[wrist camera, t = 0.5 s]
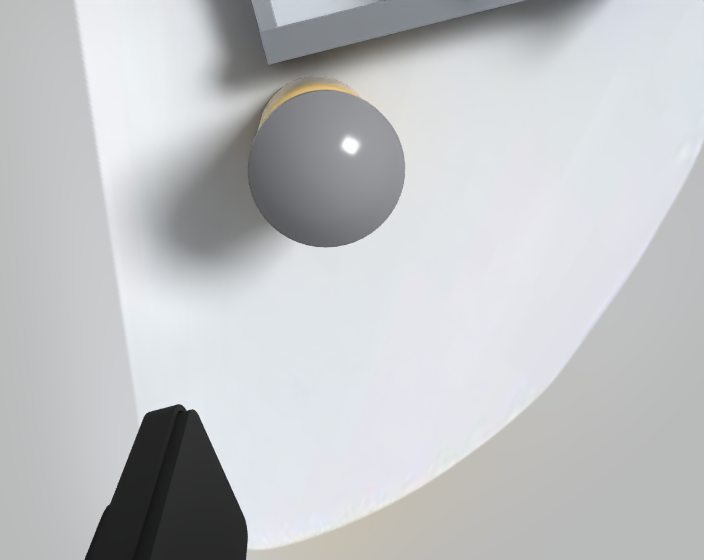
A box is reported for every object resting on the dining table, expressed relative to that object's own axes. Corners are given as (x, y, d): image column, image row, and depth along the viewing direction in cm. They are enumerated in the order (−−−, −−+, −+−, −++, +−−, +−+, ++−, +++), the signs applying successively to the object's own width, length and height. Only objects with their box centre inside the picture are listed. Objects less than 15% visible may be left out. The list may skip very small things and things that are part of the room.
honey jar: (240, 91, 28) (226, 114, 21) (362, 60, 28) (389, 73, 21) (276, 207, 31) (273, 263, 24) (386, 179, 31) (416, 226, 24)
